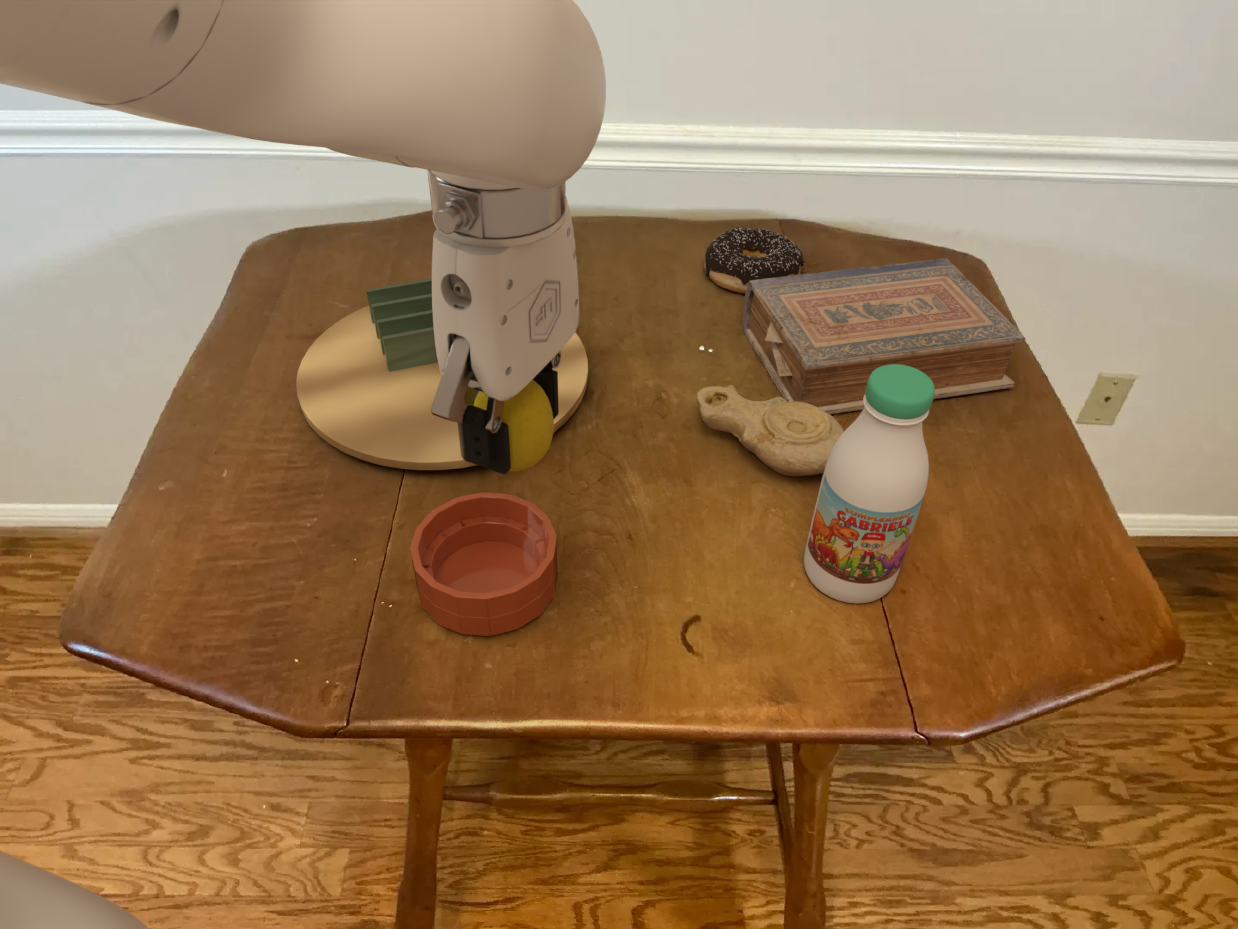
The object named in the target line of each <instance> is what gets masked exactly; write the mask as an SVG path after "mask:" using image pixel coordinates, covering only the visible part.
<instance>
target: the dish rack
mask: <svg viewBox="0 0 1238 929" xmlns="http://www.w3.org/2000/svg"><path fill="white" fill-rule="evenodd" d="M365 291H366V297H367V302H368V305H366V306H364V307H362V308H359V309H357V310H355V311H353V312H351V313H350V314H347V315H346V316H344V317H343V318H341V319H339V320H338V321H337V322H335V323H333V324H332V325H331V326H329V327H328V328H326V330H324V332H322V333H321V334H320V335H319V336H318V337H317V338H316V339H315V340H314V341H313V342H312V344H311V345H310V346H309V347H308V349H307V350H306V352H305V354H304V356H303V358H302V359H301V361H300V365H299V366H298V370H297V374H296V380H295V381H296V382H295V386H296V387H295V389H296V397H297V400H298V403H299V407H300V409H301V412H302V415H303V417H304V418H305V420H306V422H307V423H308V426H310V427H311V428H312V430H313V431H314V432H315V433H316V434H317V435H318V436H319V437H320V438H322V440H324V441H325V442H327V443H328V444H329V445H330V446H332V447H334V448H335V449H337V450H339V451H340V452H343V453H344V454H347V455H349V456H351V457H354V458H357V459H358V460H361V461H364V462H368V463H371V464H374V465H378V466H383V467H389V468H394V469H399V470H400V469H401V470H412V471H413V470H414V471H446V470H455V469H464V468H470V467H476V466H478V465H477V464H474V463H471V462H469V461H468V460H467V458H466V455H465V446H464V437H463V427H462V423H457V422H452V421H449V420H446V419H443V418H440V417H438V416H435V415H433V414H432V413H431V407H432V404H433V401H434V398H435V395H436V392H437V389H438V385H439V382H440V379H441V376H442V375H441V372H440V369H439V364H438V359H437V354H436V347H435V337H434V327H433V311H432V277H430V278H424V279H419V280H413V281H406V282H400V283H396V284H395V283H393V284H389V285H382V286H377V287H371V288H366V290H365ZM560 351H561V355H562V356H561V361H560V364H559V366H558V367H557V368H556V369H554V368H553V370H555V371H558V410H559V413H558V415H557V416H556V418H555V419H553V420H554V431H553V434H554V433H555V432H556V431H557V430H558V429H560V428H561V427H562V426H563V425H565V423H566V422H568V420H569V419H570V418H571V417H572V416H573V414H574V413H575V412H576V410H577V409H578V408H579V406H580V404H581V403H582V401H583V398H584V396H585V394H586V391H587V386H588V382H589V359H588V355H587V351H586V348H585V346H584V344H583V341H582V339H581V338H580V336H579V335H578V333H577V332H575V333H574V335H573V336H572V337H571V339H570V340H569V341H568V342H567V343H566V344H565V346H564V347H563V348H562V349H561V350H560ZM478 393H479V390H476V389H475V390H474V399H473V405H474V401H475V398H476V396H477V394H478Z"/></svg>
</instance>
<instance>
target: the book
mask: <svg viewBox="0 0 1238 929" xmlns="http://www.w3.org/2000/svg"><path fill="white" fill-rule="evenodd" d="M741 326H742V331H743V333H744V334H745V336H746V338H747V340H748V342H749V344H750V345H751V346H752V348H753V350H754V351H755V353H756V355H757V357H758V358H759V360H760V361H761V363H762V364H763V366H764V368H765V370H766V371H767V373H768V375H769V377H770V378H771V380H772V382H773V383H774V385H775V387H776V388H777V390H778V392H779V393H780V395H781V398H783V399H785V400H786V401H787V402H792V401H797V402H804V403H808V404H811V405H813V406H816V407H818V408H819V409H821V410H823V411H825V412H827V413H828V414H830V415H835V414H840V413H841V414H842V413H848V412H856V411H863V409H864V407H865V406H864V402H863V398H864V395H865V391H866V386H867V382H868V379H869V377H870V375H871V373H872V372H873V371H874V370H875V369H877V368H879V367H881V366H884V365H890V364H900V365H906V366H910V367H913V368H916V369H918V370H920V371H922V372H923V373H925V374H926V375H927V376H928V377H929V378H930V379H931V380H932V382H933V384H934V387H935V394H934V398H933V400H936V399H942V398H943V399H945V398H951V397H959V396H964V395H965V396H966V395H971V394H977V393H986V392H991V391H998V390H999V391H1000V390H1005V389H1012V388H1014V387H1015V384H1016V382H1015V381H1014V380H1012V379H1011V377H1009V376H1008V375H1006V374H1005V373H1006V370H1007V368H1008V365H1009V363H1010V361H1011V357H1012V352H1013V351H1014V348H1015V345H1016V344H1020V343H1025V340H1026V337H1025V336H1024V335H1023V334H1022V333H1021V332H1020V331H1019V330H1018V328H1017V327H1016V326H1015V325H1014V324H1013V323H1012V322H1011V321H1010V320H1009V319H1008V318H1007V317H1006V316H1005V315H1004V314H1003V313H1002V312H1001V311H1000V310H999V309H998V308H997V307H996V306H995V305H994V304H993V303H992V302H991V301H990V300H989V299H988V298H987V297H986V296H985V295H984V294H983V293H982V292H981V291H980V290H979V288H977V287H976V286H975V285H974V283H972V282H971V280H969V279H968V278H967V277H966V276H965V275H964V273H962V272H961V271H960V270H959V269H958V268H957V266H955V264H953V262H951V260H949V258H947V257H946V258H936V259H928V260H919V261H909V262H901V263H893V264H882V265H875V266H865V267H856V268H847V269H838V270H829V271H820V272H812V273H811V272H810V273H803V274H800V275H793V276H784V277H775V278H766V279H757V280H750V281H749V283H748V286H747V289H746V293H745V294H744V299H743V308H742V324H741Z"/></svg>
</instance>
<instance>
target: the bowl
mask: <svg viewBox="0 0 1238 929" xmlns="http://www.w3.org/2000/svg"><path fill="white" fill-rule="evenodd" d="M409 547H410V548H409V552H410V557H411V562H412V563H411V564H412V567H413V573H414V579H415V584H416V590H417V593H418V597H419V601H420V606H421V607H422V608H423V610H424V611H425V612H426V613H427V614H428V615H429V616H430V617H431V618H432V619H433V620H434V622H435V623H437V624H438V625H439V626H442V627H444V628H446V629H449V630H451V631H453V632H455V633H458V634H460V635H471V636H483V637H490V636H491V637H492V636H496V635H500V634H503V633H508V632H512V631H515V630H518V629H520V628H523V627H524V626H525V625H527V624H529V623H530V622H532V621H533V620H534V619H536V618H538V617H539V616H541V615H542V614H543V613H544V611H545V610H546V608H547V607H548V605H549V603H551V601H552V600H553V599H554V597H555V595H556V589H557V582H558V577H559V576H558V575H559V568H558V535H557V534H556V531H555V528H554V526H553V524H552V521H551V518H550V517H549V516H548V515H547V514H546V513H545V512H544V511H542V509H540V508H539V507H538V506H537V505H536V504H534V502H532V501H529V500H526V499H524V498H521V497H519V496H516V495H513V494H510V493H502V492H488V491H487V492H484V491H483V492H482V491H481V492H475V493H471V494H467V495H462V496H457V497H454V498H452V499H451V500H448V501H446V502H445V503H443V504H441V505H439V506H438V507H435V508H434V509H432V510H431V511H430V512H429V513H428V514H427V515H426V517H425V518H424V519H423V520H422V521H421V522H420V523H419V524H418V525H417V526H416V528H415V531H414V534H413V537H412V541H411V544H410V546H409Z"/></svg>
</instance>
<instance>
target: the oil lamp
mask: <svg viewBox="0 0 1238 929" xmlns="http://www.w3.org/2000/svg"><path fill="white" fill-rule="evenodd" d="M695 401H696V405H697V408H698V409H699V411H700V417H701V419H702V421H703V423H704V424H705V425H706V426H707V427H708V428H710V429H713V430H715V431H720V432H725V433H731V434H732V435H733V436H734V437H736V438H737V439H738V441H739V443H740V444H742V446H743V447H744V448H745V449H746V450H748V451H750V452H752V453H753V454H755V455H756V457H757V458H758V459H759V460H760V461H761V462H762V463H763V464H765V466H767V467H769V468H771V469H772V470H774V471H775V472H777V473H778V474H781V475H782V476H787V477H805V476H816V475H820V474H824V470H825V467H826V464H827V460H828V457H829V455H830V453H831V450H832V448H833V446H834V445H835V443H836V441H837V440H838V438H839V437H840V436H841V434H842V433H843V432H844V431H845V430H844V428H843V426H842V425H841V424H840V423H839V421H837V419H836V418H835V417H834V416H832V414H828V413H827V412H825V411H823V410H821V409H819V408H818V407H816V406H813V405H811V404H808V403H804V402H797V401H792V402H787V401H786V400H785V399H784V398H783V397H782V396H775V397H772V398H770V399H768V400H767V399H766V400H754V401H753V400H751V399H748V398H745V397H743V396H742V395H740V394H739V392H738V391H737V389H736V387H735V386H734V385H733V384H730V385H728V386H721V385H720V386H719V385H711V386H706V387H703V388H702V387H701V388H700V389H699V390H698V391H697V393H696V396H695Z"/></svg>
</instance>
